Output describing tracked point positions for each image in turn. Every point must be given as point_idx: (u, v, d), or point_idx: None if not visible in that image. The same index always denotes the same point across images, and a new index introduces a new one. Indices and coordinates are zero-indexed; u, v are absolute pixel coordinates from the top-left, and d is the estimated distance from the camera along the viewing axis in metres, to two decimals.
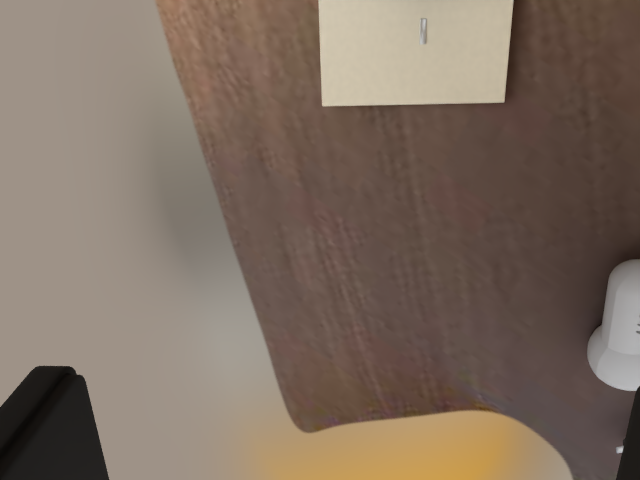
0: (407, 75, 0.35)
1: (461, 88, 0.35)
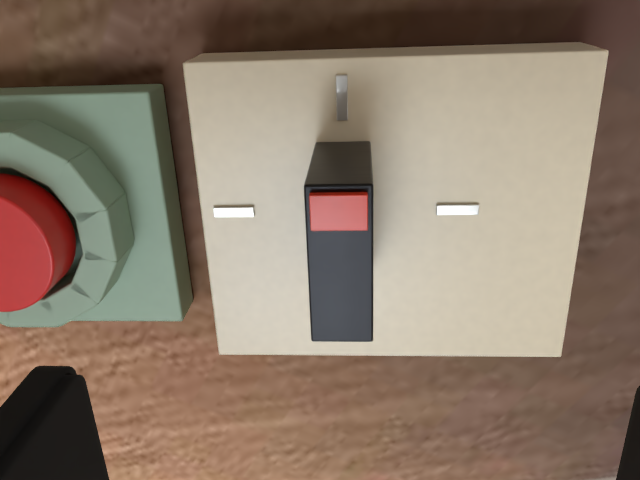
0: (529, 230, 0.20)
1: (567, 136, 0.19)
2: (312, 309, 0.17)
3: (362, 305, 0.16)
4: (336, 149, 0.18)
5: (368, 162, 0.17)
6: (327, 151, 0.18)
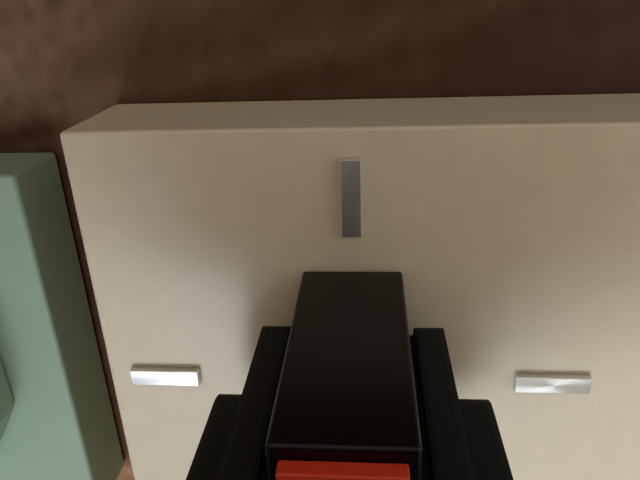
0: None
1: None
2: None
3: None
4: (340, 298, 0.10)
5: (404, 348, 0.08)
6: (323, 304, 0.10)
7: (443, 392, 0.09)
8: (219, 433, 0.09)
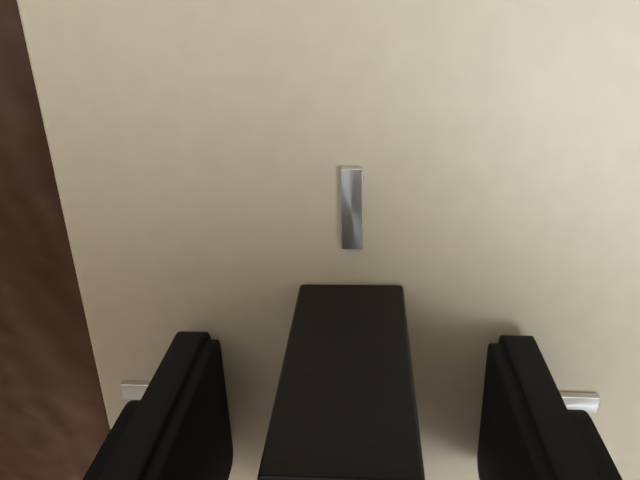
0: (407, 48, 0.09)
1: None
2: None
3: None
4: (339, 314, 0.09)
5: (405, 368, 0.08)
6: (320, 320, 0.09)
7: (550, 404, 0.08)
8: None
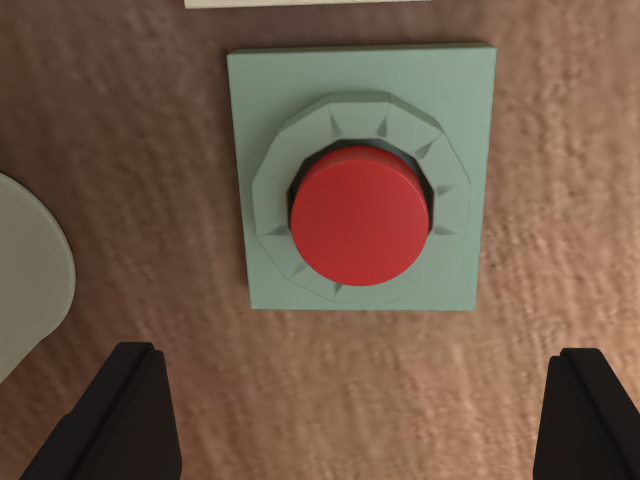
0: None
1: None
2: None
3: None
4: None
5: None
6: None
7: (629, 422, 0.08)
8: None
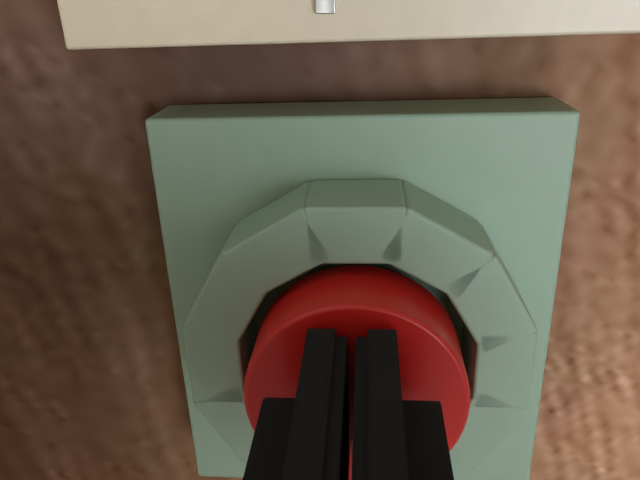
0: None
1: None
2: None
3: None
4: None
5: None
6: None
7: (387, 394, 0.09)
8: (270, 436, 0.09)
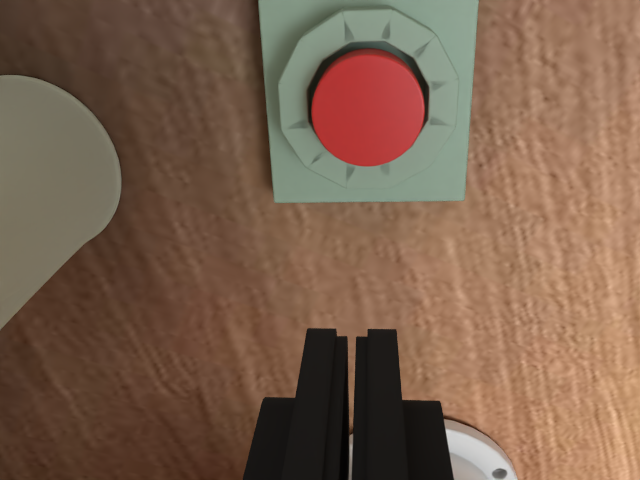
0: None
1: None
2: None
3: None
4: None
5: None
6: None
7: (387, 394, 0.09)
8: (270, 436, 0.09)
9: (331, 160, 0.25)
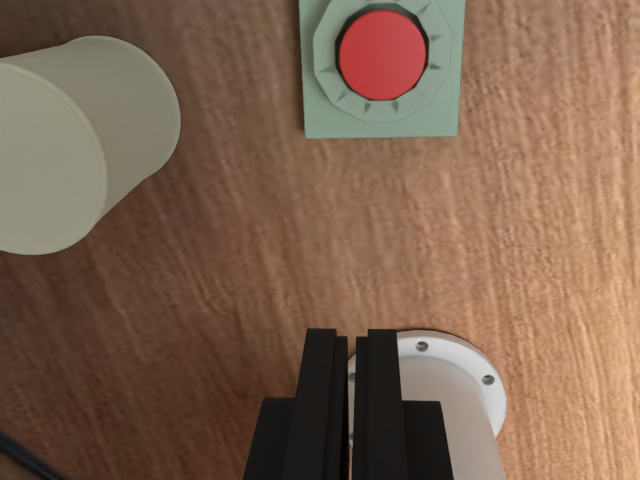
0: None
1: None
2: None
3: None
4: None
5: None
6: None
7: (387, 394, 0.09)
8: (270, 437, 0.09)
9: (352, 98, 0.32)
